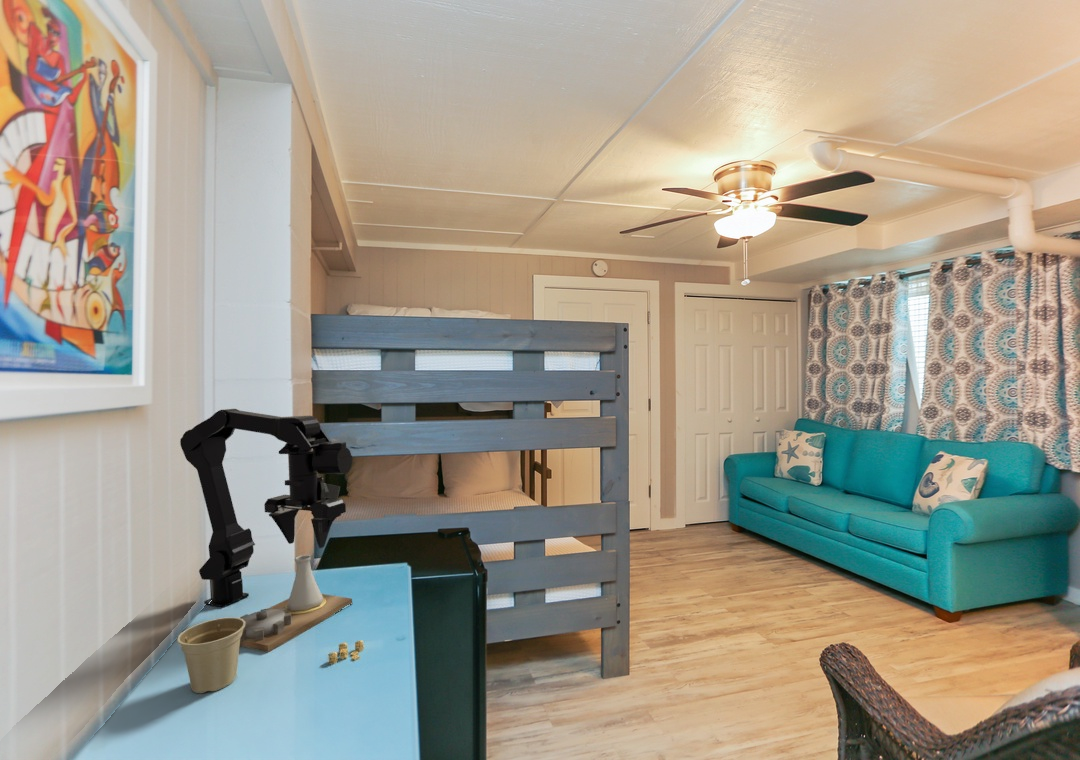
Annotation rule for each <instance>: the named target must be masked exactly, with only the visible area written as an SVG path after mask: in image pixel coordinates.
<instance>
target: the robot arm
mask: <svg viewBox="0 0 1080 760" xmlns="http://www.w3.org/2000/svg"><path fill="white" fill-rule="evenodd" d="M235 430H241V431H247V432H254V433H260V434H266V435H270V436H272V437H274V438H276V440H279V441H280V442H284V443H285V444H284V446H283V447H282V448H281V449H280V450H279V451H278V454H279V455H288V457H287V459H288V460H287V461H288V479H287V480H284V485H285V486H289V487H288V489H289V494H282V495H279V496H274V497H270V498H267V499H266V501H265V502H264V504H263V505H264V513H268V516H269V517H271V518H272V520H273V521H274V523H275V525H276V526H277V527H278V529H279V531H280V532H281V533H282V535H283V536H284V538H285V540H286V541H287V543H288V544H290V545H291V544H293V543H294V542H295V535H296V534H295V532H296V527H295V526H296V516H297V514H298V512H299V511H307V512H310V513H311V516H312V517H313V518H311V519H310V521H311V524H312V529H313V532H314V535H315V540H316V543H317V546H318V548H319V549H322V548H324V547H325V546H326V542H327V539H328V535H329V533H330V530H331V526H332V525H333V522H334V521H335V520H336V519H337V518H339V517H341V516H342V514H345V513H346V512H347V511H346V510H347V509H346V507H347V506H346V502H345V501H344V500H343V499H339V495H340V491H341V486H339V485H334V484H330V483H325V482H324V478H323V476H319V474H320V475H345V474H348V473H349V472H350V470H351V469H352V465H353V455H352V453H351V451H350V449H349V448H348V447H347V441H340V442H332V441H331V440H330V439H331V438H329V436H328V435H327V434H326V432H325V431H324V429H323V428H322V427H321V425H320V422H319V420H318V418H317V417H315V416H314V415H293V416H277V415H271V414H264V413H259V412H252V411H251V412H250V411H244V410H239V409H237V408H227V409H226V408H225V409H219V410H218V411H216V412H215V413H213V414H212V415H211V416H210V417H208V418H207V419H205V420H203V421H202V422H200V423H198V424H197V425H195V426H194V427H193V428H191V429H188V430H186V431H185V432H184V433H183V435H182V437H181V438H180V441H179V444H180V445H179V446H180V448H181V451H182V453H183V454H184V457H185V459H186V461H187V462H188V463H189V464H190V465H192V466H193V467H194V468H195V469H196V471H197V476H198V479H199V482H200V487H201V490H202V494H203V498H204V504H205V505H206V509H207V514H208V517H209V522H210V526H211V529H212V530H211V531H212V533H211V536H210V541H209V543H208V554H209V558H207V560H206V561H205V563H204V564H203V565H202V566H201V567H200V568H199V570H198V572H199V575H200V578H201V580H206V581H207V580H208V581H209V591H210V592H209V593H210V598H209V599H208V598H207V599H205V600H204V601H203V603H204V604H205V605H209V604H208V603H209V602H210V601H211V600H212V601H211V602H210V604H212V605H211V606H215V607H219V608H224V607H227V606H228V605H231V604H233V603H235V602H238V601H241V600H242V599H245V598H247V597H249V596H250V594H249V592H244V591H243V590H244V588H243V577H242V571H241V570H242V569H244V568H247V567H248V566H249V562H250V559H251V558H252V555H253V554H254V552H255V551H254V546H256V543H255V541H254V539H253V536H252V530H251V529H250V528H246V529H244V528H243V527H242V526H241V525H240V524H239V523H238V519H237V516H236V512H235V509H234V504H233V500H232V496H231V493H230V489H229V485H228V481H227V477H226V474H225V473H226V472H225V470H224V466H223V461H224V459H225V457H226V456H225V455H226V452H227V445H226V441H227V440H228V439H229V438H231V437H232V436H233V435H234V432H235Z"/></svg>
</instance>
